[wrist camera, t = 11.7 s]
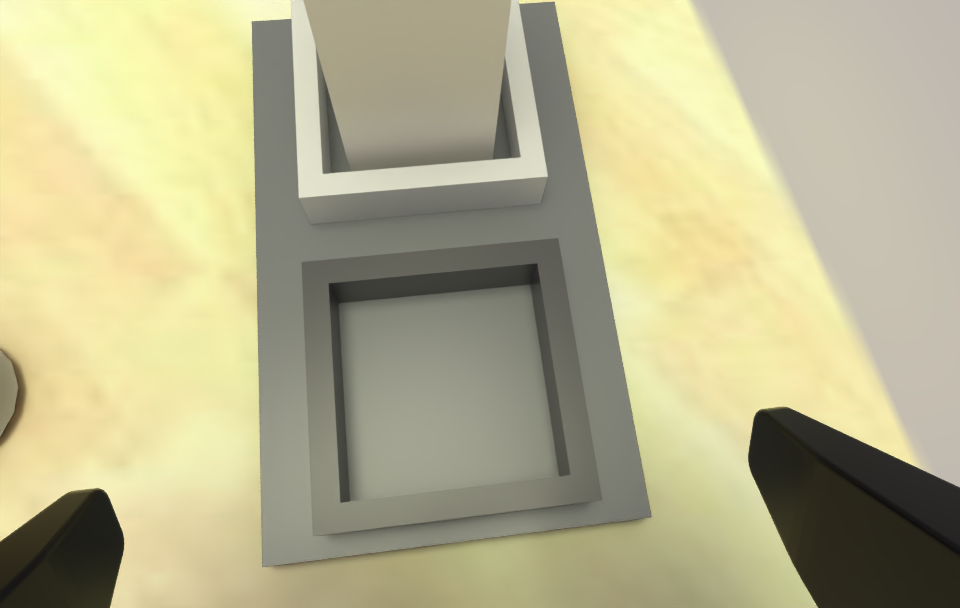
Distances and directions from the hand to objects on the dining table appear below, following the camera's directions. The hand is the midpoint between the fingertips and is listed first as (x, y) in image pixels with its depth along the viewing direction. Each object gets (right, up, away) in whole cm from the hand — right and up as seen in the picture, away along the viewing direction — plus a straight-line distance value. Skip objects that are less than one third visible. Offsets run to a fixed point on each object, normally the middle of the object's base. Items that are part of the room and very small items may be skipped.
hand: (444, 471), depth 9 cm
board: (-1, +4, +15) cm, 16 cm away
